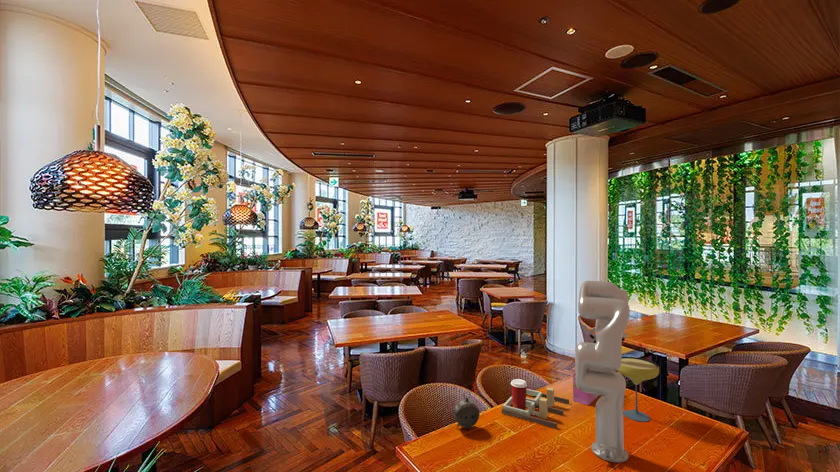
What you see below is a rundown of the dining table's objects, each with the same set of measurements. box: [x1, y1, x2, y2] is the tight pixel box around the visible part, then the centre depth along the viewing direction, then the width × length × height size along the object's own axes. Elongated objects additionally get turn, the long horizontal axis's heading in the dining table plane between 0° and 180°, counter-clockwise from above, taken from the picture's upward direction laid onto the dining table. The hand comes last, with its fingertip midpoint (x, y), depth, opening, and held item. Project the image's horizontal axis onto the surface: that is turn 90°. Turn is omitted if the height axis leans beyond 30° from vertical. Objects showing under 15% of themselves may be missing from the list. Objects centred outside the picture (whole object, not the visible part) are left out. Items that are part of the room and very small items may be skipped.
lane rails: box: [501, 392, 570, 429], centre depth 173 cm, size 29×25×2 cm
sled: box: [502, 396, 548, 420], centre depth 169 cm, size 12×19×8 cm, turn 57°
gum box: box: [572, 373, 600, 406], centre depth 187 cm, size 24×8×14 cm, turn 136°
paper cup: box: [510, 378, 528, 411], centre depth 171 cm, size 8×8×14 cm
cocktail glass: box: [616, 356, 660, 423], centre depth 166 cm, size 18×18×25 cm
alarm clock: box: [453, 391, 480, 430], centre depth 154 cm, size 11×5×16 cm, turn 102°
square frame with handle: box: [526, 387, 555, 408], centre depth 181 cm, size 12×19×8 cm, turn 57°
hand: (606, 349), depth 173 cm, fingers open, 9 cm apart
